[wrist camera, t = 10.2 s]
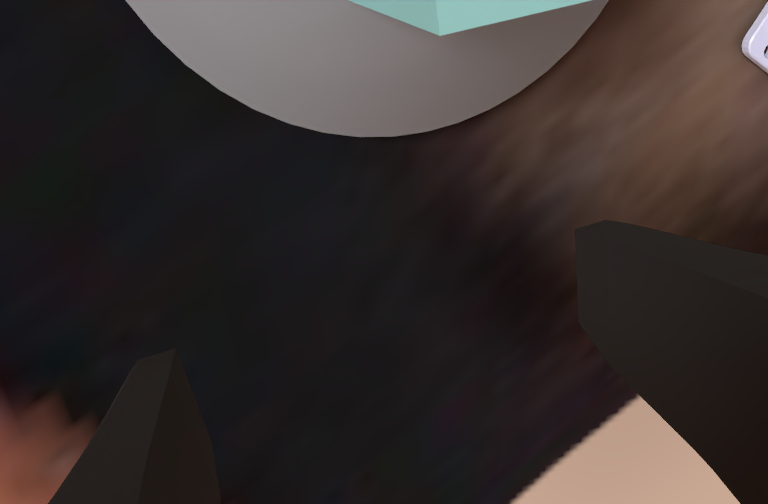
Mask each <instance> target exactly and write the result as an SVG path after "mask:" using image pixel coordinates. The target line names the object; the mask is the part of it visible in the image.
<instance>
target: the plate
mask: <svg viewBox="0 0 768 504" xmlns="http://www.w3.org/2000/svg"><path fill="white" fill-rule="evenodd" d="M126 1H127V3H128V4H129V5H130V6H131V7H132V9H133V10H134V11H135V12H136V14H137V15H138V16H139V17H140V18H141V20H142V21H143V22H144V23H145V24H146V26H147V27H148V28H149V29H150V30H151V32H152V33H153V34H154V35H155V36H156V37H157V38H158V39H159V40H160V41H161V42H162V43H163V44H164V45H165V46H167V47H168V48H169V49H170V50H171V51H172V52H173V53H174V54H175V55H176V56H177V57H178V58H179V59H180V60H181V61H182V62H183V63H184V64H185V65H187V66H188V67H189V68H191V69H192V70H193V71H195V72H196V73H197V74H199V75H200V76H201V77H203V78H204V79H205V80H207V81H208V82H210V83H211V84H212V85H214V86H215V87H216V88H218V89H219V90H221V91H222V92H224V93H226V94H228V95H229V96H231V97H233V98H235V99H237V100H238V101H240V102H242V103H244V104H245V105H247V106H249V107H251V108H252V109H254V110H257V111H259V112H262V113H264V114H267V115H269V116H272V117H274V118H276V119H279V120H281V121H284V122H286V123H289V124H292V125H296V126H300V127H304V128H308V129H312V130H316V131H319V132H323V133H330V134H338V135H347V136H355V137H394V136H401V135H408V134H415V133H422V132H427V131H431V130H435V129H438V128H442V127H445V126H449V125H452V124H456V123H459V122H462V121H464V120H466V119H469V118H471V117H473V116H476V115H478V114H480V113H483V112H485V111H487V110H490V109H491V108H493V107H495V106H497V105H498V104H500V103H502V102H503V101H505V100H507V99H509V98H510V97H512V96H514V95H515V94H517V93H519V92H520V91H522V90H523V89H524V88H526V87H527V86H528V85H530V84H531V83H532V82H534V81H535V80H536V79H538V78H539V77H540V76H542V75H543V74H544V73H545V72H547V71H548V70H549V69H550V68H551V67H552V66H553V65H554V64H555V63H556V62H557V61H558V60H559V59H560V58H562V57H563V56H564V55H565V54H566V53H567V52H568V51H569V50H570V49H571V48H572V47H573V46H574V45H575V44H576V42H577V41H578V40H579V39H580V38H581V36H582V35H583V34H584V33H585V32H586V30H587V29H588V28H589V27H590V26H591V25H592V23H593V22H594V21H595V20H596V19H597V17H598V16H599V14H600V13H601V11H602V10H603V8H604V7H605V5H606V4H607V2H608V1H609V0H591V1H587V2H583V3H578V4H574V5H570V6H565V7H561V8H557V9H553V10H548V11H544V12H540V13H536V14H531V15H527V16H523V17H519V18H514V19H510V20H506V21H502V22H497V23H493V24H489V25H484V26H480V27H476V28H472V29H467V30H463V31H459V32H455V33H450V34H446V35H442V36H439V35H436V34H434V33H431V32H429V31H426V30H423V29H421V28H418V27H416V26H413V25H411V24H408V23H405V22H403V21H400V20H398V19H395V18H392V17H390V16H387V15H385V14H382V13H380V12H377V11H374V10H372V9H369V8H367V7H364V6H361V5H359V4H356V3H354V2H351V1H349V0H126Z"/></svg>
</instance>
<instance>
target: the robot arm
mask: <svg viewBox="0 0 768 504" xmlns="http://www.w3.org/2000/svg"><path fill="white" fill-rule="evenodd" d="M767 45H768V2H767V4H766V5H765V7H764V8H763V10H762V11H761V13H760V14H759V16H758V17H757V19H756V20H755V22H754V23H753V25H752V26H751V28H750V29H749V31H748V32H747V34H746V35H745V37H744V39H743V42H742V51H743V53H744V55H745V56H746V57H748V58H749V59H750V60H751V61H753V62H754V63H755V64H756V65H758V66H759V67H760V68H761V69H763V70H764V71H765V72H767V73H768V50H767V52H766V53H765V54H764V50H765V48H766V46H767ZM575 242H576V269H577V296H578V323H579V324H580V326H581V327H582V329H583V330H584V331H585V333H586V334H587V336H588V337H589V338H590V340H591V341H592V343H593V344H594V345H595V347H596V348H597V349H598V351H599V352H600V353H601V354H602V356H603V357H604V358H605V360H606V361H607V362H608V363H609V365H610V366H611V367H612V368H613V369H614V370H615V371H616V372H617V373H618V374H619V375H620V376H621V377H622V378H623V379H624V380H625V381H626V382H627V383H628V384H629V385H630V386H631V387H632V388H633V389H634V390H635V391H636V392H637V393H638V394H639V395H640V396H641V397H642V398H643V399H644V400H645V401H646V402H647V403H648V404H649V405H650V406H651V407H652V408H653V409H654V410H655V411H656V412H657V413H658V414H659V415H660V416H661V417H662V418H663V419H664V420H665V421H666V422H667V423H668V424H669V425H670V426H671V427H672V428H673V429H674V430H675V431H676V432H677V433H678V434H679V435H680V436H681V437H682V438H683V439H684V440H685V441H686V442H687V443H688V444H689V445H690V446H691V447H692V448H693V449H694V450H695V451H696V452H697V453H698V454H699V455H700V456H701V457H702V458H703V459H704V461H706V463H707V464H708V465H709V466H710V467H711V468H712V469H713V470H714V472H715V473H716V474H717V475H718V477H719V478H720V479H721V480H722V481H723V482H724V484H725V485H726V486H727V488H728V489H729V490H730V491H731V493H732V494H733V495H734V496H735V497H736V499H737V500H738V501H739V502H740V504H768V255H763V254H758V253H753V252H748V251H743V250H739V249H734V248H729V247H725V246H721V245H716V244H712V243H708V242H704V241H699V240H695V239H691V238H687V237H683V236H679V235H675V234H670V233H666V232H662V231H658V230H654V229H650V228H645V227H641V226H636V225H632V224H627V223H621V222H615V221H607V220H605V221H601V222H598V223H594V224H591V225H588V226H584V227H581V228H578V229H575ZM48 504H221V503H220V491H219V485H218V478H217V472H216V466H215V460H214V454H213V448H212V442H211V440H210V437H209V434H208V432H207V429H206V427H205V424H204V421H203V419H202V416H201V414H200V411H199V408H198V406H197V403H196V400H195V398H194V395H193V393H192V390H191V387H190V385H189V382H188V380H187V377H186V374H185V372H184V369H183V367H182V364H181V361H180V359H179V356H178V354H177V351H176V349H173V350H169V351H166V352H163V353H159V354H156V355H153V356H149V357H146V358H143V359H139V360H137V362H136V364H135V365H134V367H133V369H132V370H131V372H130V374H129V375H128V377H127V379H126V380H125V382H124V384H123V386H122V388H121V389H120V391H119V393H118V395H117V396H116V398H115V400H114V402H113V404H112V405H111V407H110V409H109V411H108V412H107V414H106V416H105V418H104V419H103V421H102V423H101V424H100V426H99V427H98V429H97V431H96V432H95V434H94V436H93V437H92V439H91V441H90V442H89V444H88V446H87V447H86V449H85V451H84V452H83V454H82V455H81V457H80V458H79V460H78V461H77V463H76V464H75V466H74V467H73V468H72V470H71V471H70V473H69V474H68V476H67V477H66V479H65V480H64V482H63V483H62V485H61V486H60V488H59V489H58V491H57V492H56V493H55V495H54V496H53V498H52V499H51V500H50V502H49V503H48Z"/></svg>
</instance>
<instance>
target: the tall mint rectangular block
mask: <svg viewBox="0 0 768 504" xmlns="http://www.w3.org/2000/svg"><path fill="white" fill-rule="evenodd" d="M349 1H351V2H354V3H356V4H359V5H361V6H364V7H367V8H369V9H372V10H374V11H377V12H380V13H382V14H385V15H387V16H390V17H392V18H395V19H398V20H400V21H403V22H405V23H408V24H411V25H413V26H416V27H418V28H421V29H423V30H426V31H429V32H431V33H434V34H436V35H439V36H442V35H446V34H450V33H455V32H459V31H463V30H467V29H472V28H476V27H480V26H484V25H489V24H493V23H497V22H502V21H506V20H510V19H514V18H519V17H523V16H527V15H531V14H536V13H540V12H544V11H548V10H553V9H557V8H561V7H565V6H570V5H574V4H578V3H583V2H587V1H591V0H349Z"/></svg>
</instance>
